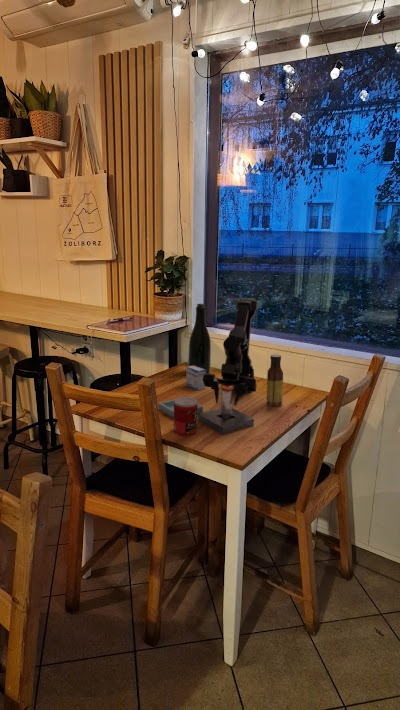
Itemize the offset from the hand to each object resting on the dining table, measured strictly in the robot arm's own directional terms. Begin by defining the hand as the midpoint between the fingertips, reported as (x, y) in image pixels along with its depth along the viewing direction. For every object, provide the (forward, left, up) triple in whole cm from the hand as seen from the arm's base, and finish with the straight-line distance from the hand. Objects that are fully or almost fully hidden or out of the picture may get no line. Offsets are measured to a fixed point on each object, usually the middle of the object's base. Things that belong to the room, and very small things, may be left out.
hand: (225, 404), depth 165 cm
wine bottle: (-28, -53, -8) cm, 60 cm away
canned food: (+15, -3, -8) cm, 17 cm away
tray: (+6, -19, -8) cm, 21 cm away
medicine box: (-15, -38, -8) cm, 42 cm away
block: (-1, -1, -8) cm, 8 cm away
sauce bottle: (-29, -5, -8) cm, 31 cm away
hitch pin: (-1, -1, -8) cm, 8 cm away
